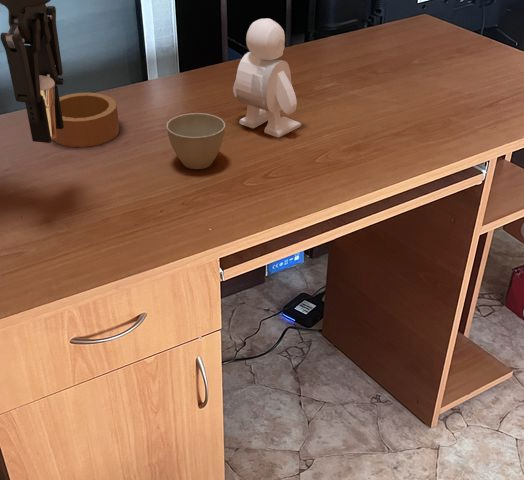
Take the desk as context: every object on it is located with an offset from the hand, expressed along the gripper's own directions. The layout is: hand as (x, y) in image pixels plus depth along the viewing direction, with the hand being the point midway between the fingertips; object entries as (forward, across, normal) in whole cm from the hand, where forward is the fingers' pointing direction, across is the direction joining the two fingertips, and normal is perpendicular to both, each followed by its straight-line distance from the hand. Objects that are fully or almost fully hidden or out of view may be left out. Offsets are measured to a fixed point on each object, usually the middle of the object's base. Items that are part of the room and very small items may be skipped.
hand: (48, 133), depth 120 cm
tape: (+12, +26, +6) cm, 29 cm away
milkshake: (0, 0, 0) cm, 0 cm away
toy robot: (+12, +35, -27) cm, 46 cm away
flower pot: (+12, +18, -18) cm, 28 cm away
